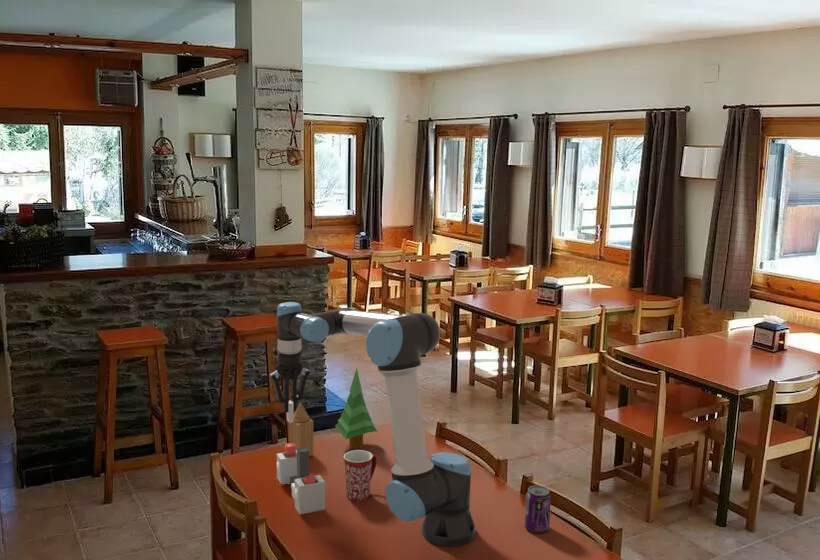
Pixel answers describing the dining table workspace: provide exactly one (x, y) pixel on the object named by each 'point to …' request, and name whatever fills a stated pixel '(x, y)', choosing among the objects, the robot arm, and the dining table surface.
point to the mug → (359, 474)
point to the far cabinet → (286, 467)
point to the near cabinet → (309, 495)
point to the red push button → (290, 449)
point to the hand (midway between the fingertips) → (290, 421)
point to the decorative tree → (355, 416)
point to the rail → (292, 479)
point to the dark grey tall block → (301, 466)
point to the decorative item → (301, 430)
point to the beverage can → (537, 508)
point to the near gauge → (309, 480)
